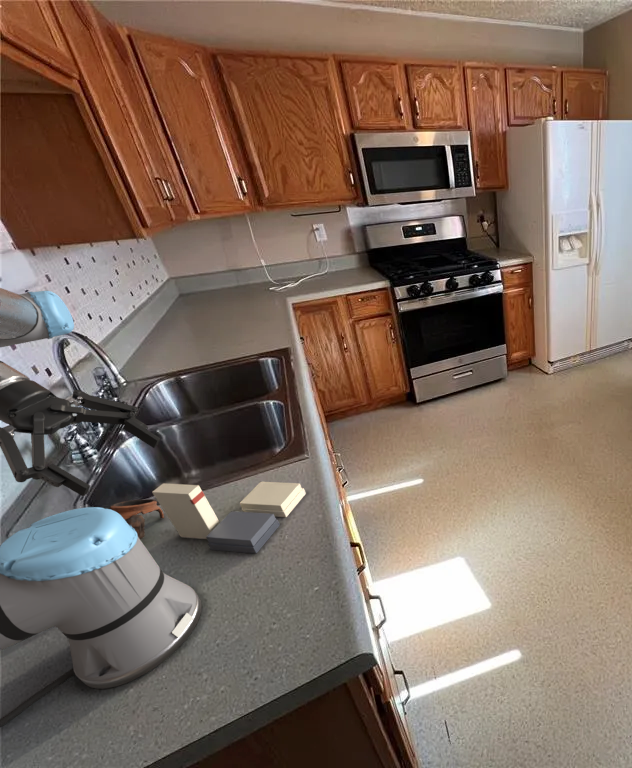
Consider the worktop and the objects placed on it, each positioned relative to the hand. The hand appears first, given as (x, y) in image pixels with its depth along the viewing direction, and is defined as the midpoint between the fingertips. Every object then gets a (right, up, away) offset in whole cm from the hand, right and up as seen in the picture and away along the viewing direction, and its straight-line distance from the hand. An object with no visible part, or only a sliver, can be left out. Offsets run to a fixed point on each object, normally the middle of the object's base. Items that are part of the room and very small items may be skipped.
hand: (124, 465), depth 77 cm
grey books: (+20, -15, +5) cm, 25 cm away
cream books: (+21, -11, +12) cm, 27 cm away
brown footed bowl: (-4, -16, +8) cm, 18 cm away
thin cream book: (+10, -15, +6) cm, 19 cm away
